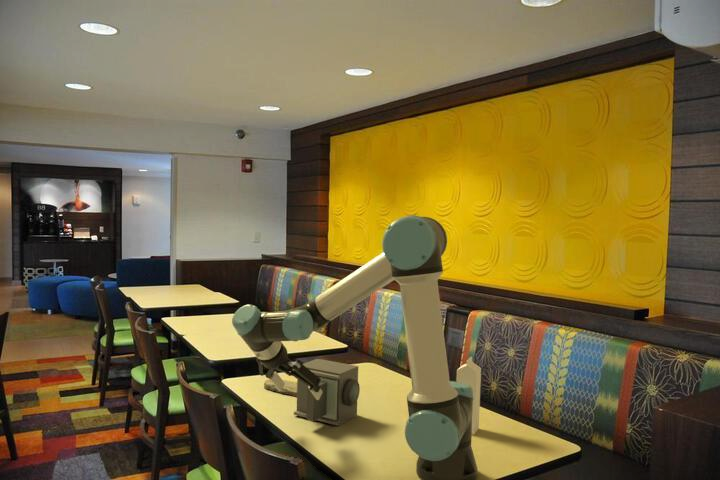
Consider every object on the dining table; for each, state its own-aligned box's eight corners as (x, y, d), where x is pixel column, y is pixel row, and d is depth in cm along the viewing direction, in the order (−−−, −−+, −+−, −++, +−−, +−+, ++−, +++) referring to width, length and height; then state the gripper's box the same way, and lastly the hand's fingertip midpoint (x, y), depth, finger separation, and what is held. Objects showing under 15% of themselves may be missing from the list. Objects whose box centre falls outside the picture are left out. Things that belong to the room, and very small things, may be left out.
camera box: (362, 416, 177) (363, 367, 177) (341, 428, 166) (343, 376, 166) (316, 405, 186) (317, 358, 186) (293, 416, 176) (294, 366, 175)
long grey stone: (274, 387, 211) (257, 395, 202) (273, 373, 210) (257, 381, 202) (355, 398, 195) (341, 407, 186) (354, 383, 195) (340, 392, 186)
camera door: (336, 419, 169) (337, 380, 168) (322, 427, 162) (323, 386, 162) (312, 413, 173) (313, 375, 173) (297, 420, 166) (298, 381, 166)
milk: (454, 431, 167) (456, 359, 166) (460, 425, 173) (462, 355, 172) (474, 435, 164) (476, 362, 164) (479, 428, 170) (481, 357, 169)
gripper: (227, 354, 152) (261, 394, 166) (300, 369, 140) (330, 411, 153) (241, 332, 157) (273, 373, 170) (313, 344, 144) (341, 388, 158)
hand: (300, 391), depth 162 cm, fingers open, 13 cm apart
